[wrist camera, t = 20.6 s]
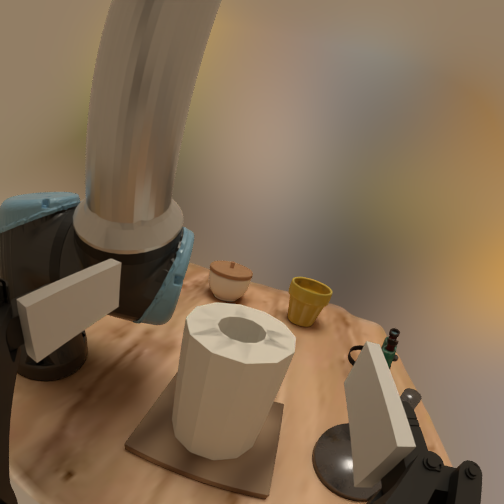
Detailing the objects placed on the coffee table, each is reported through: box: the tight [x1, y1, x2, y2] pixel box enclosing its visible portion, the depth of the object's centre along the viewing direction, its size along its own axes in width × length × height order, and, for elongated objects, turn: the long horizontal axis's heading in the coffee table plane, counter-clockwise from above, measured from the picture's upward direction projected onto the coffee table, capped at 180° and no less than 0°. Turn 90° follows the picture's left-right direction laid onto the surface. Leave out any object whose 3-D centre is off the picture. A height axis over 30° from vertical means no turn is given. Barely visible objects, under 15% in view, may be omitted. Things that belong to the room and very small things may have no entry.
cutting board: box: [125, 372, 284, 499], centre depth 28 cm, size 16×16×1 cm
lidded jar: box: [209, 261, 253, 302], centre depth 69 cm, size 11×11×9 cm
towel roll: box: [172, 302, 296, 460], centre depth 26 cm, size 10×10×15 cm
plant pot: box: [287, 277, 332, 327], centre depth 65 cm, size 10×10×10 cm
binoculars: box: [348, 328, 400, 369], centre depth 46 cm, size 9×11×10 cm
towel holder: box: [312, 388, 421, 501], centre depth 24 cm, size 14×14×13 cm
